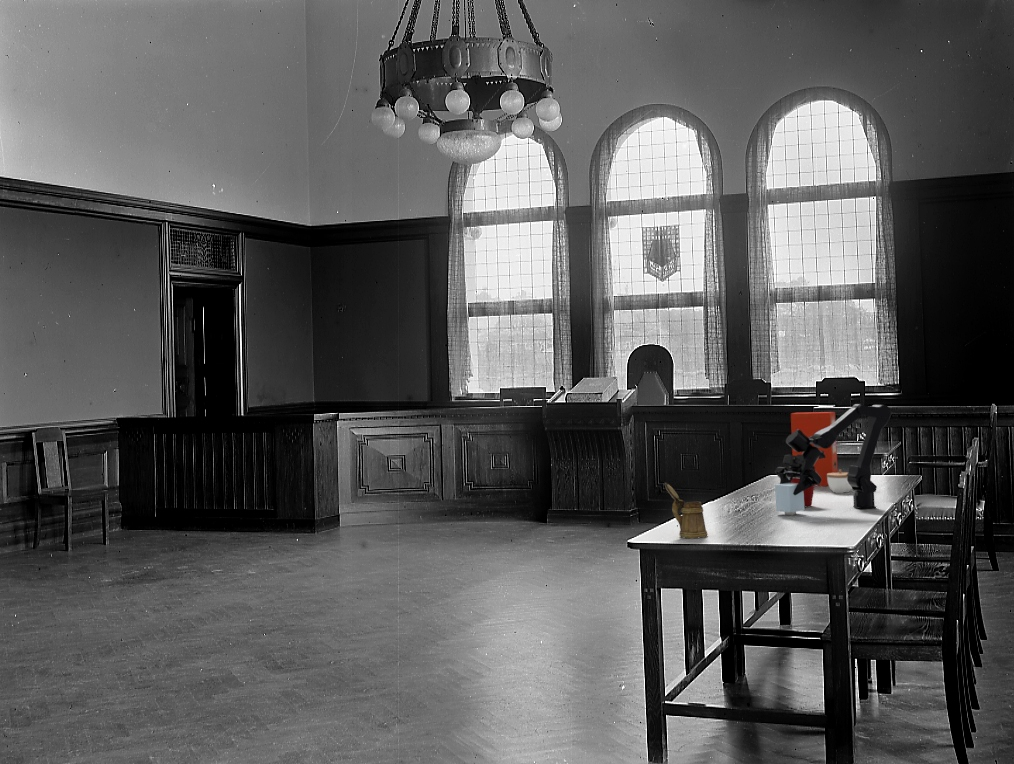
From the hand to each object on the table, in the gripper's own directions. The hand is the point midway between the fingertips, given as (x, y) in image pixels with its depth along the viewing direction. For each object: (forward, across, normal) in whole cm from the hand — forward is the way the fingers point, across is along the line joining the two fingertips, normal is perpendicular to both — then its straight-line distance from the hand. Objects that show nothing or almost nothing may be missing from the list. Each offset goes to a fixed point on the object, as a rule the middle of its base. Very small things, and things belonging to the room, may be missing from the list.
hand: (786, 493), depth 394 cm
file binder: (-46, -57, +58) cm, 93 cm away
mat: (+6, +13, +5) cm, 16 cm away
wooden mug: (+43, +8, -32) cm, 54 cm away
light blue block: (+3, 0, +5) cm, 6 cm away
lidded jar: (-37, -32, +49) cm, 69 cm away
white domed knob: (+5, 0, +7) cm, 8 cm away
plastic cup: (-10, -14, +21) cm, 27 cm away
